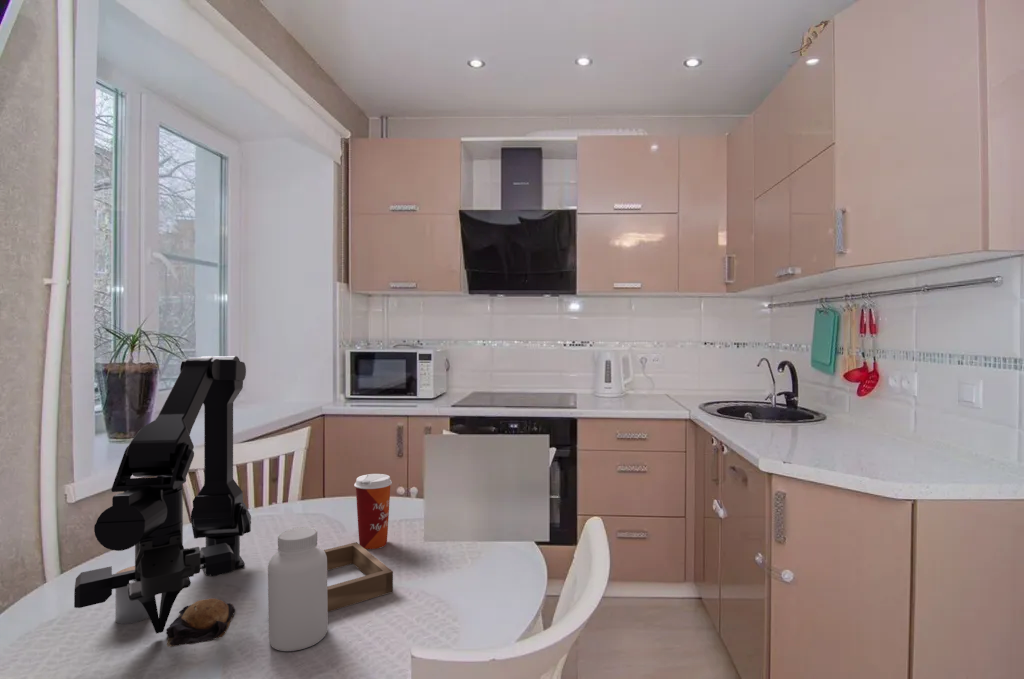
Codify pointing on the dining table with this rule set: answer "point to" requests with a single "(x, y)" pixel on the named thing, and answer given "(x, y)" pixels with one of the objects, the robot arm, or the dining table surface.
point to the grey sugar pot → (128, 606)
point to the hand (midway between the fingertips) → (159, 631)
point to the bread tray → (359, 588)
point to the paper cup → (373, 509)
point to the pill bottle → (297, 591)
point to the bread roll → (200, 622)
